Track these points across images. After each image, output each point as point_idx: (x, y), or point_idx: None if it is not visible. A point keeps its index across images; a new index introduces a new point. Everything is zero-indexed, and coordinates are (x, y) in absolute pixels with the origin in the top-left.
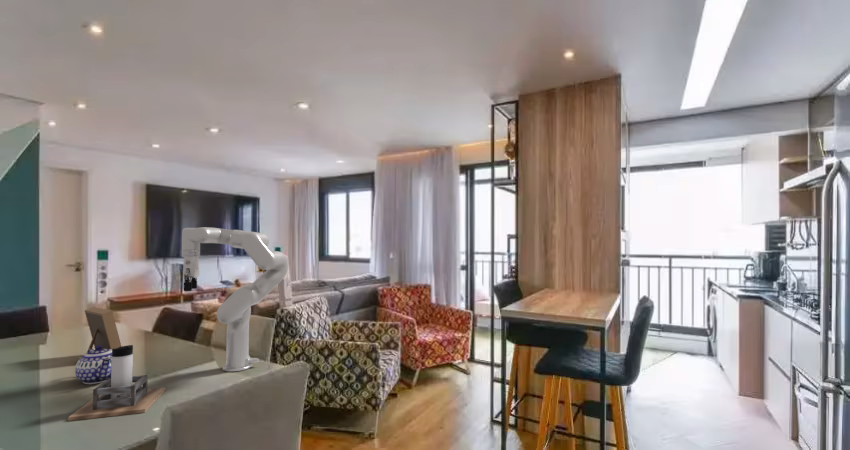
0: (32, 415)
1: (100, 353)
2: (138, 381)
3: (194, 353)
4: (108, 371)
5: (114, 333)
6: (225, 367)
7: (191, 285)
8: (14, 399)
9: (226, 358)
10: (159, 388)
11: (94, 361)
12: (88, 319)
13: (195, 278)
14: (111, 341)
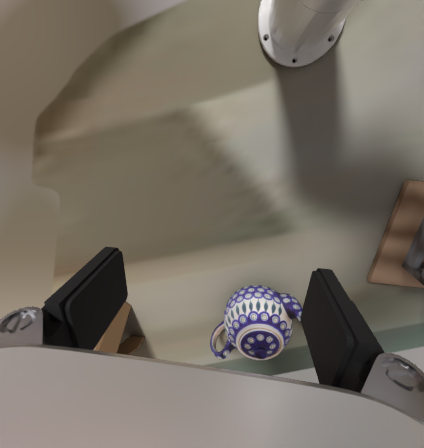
0: (404, 332)
1: (278, 338)
2: None
3: (107, 174)
4: (294, 298)
5: (105, 350)
6: (309, 54)
7: (353, 307)
8: (305, 364)
9: (311, 44)
10: (409, 192)
11: (289, 333)
12: None
13: (44, 343)
14: (117, 339)
